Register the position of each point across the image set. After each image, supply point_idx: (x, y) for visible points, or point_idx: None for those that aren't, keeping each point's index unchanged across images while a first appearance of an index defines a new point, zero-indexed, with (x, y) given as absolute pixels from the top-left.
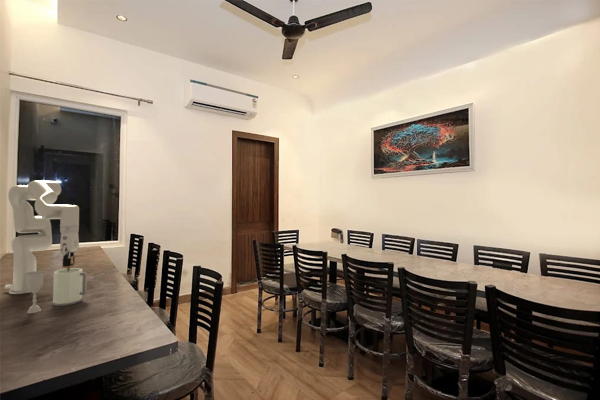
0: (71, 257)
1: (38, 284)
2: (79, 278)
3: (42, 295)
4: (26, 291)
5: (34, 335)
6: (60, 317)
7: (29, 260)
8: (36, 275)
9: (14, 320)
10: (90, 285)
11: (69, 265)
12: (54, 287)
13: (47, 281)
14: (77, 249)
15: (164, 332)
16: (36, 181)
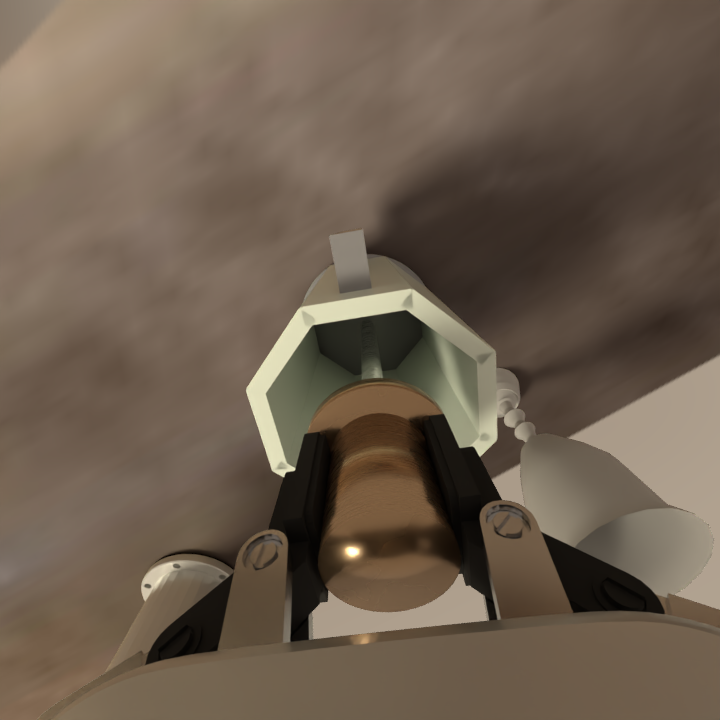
0: (420, 506)
1: (607, 453)
2: (386, 276)
3: (252, 494)
4: (225, 572)
5: None
6: (635, 204)
7: None
8: (685, 518)
9: (602, 394)
10: (39, 378)
11: (444, 421)
12: None
13: (36, 596)
14: (204, 668)
15: None
16: None
